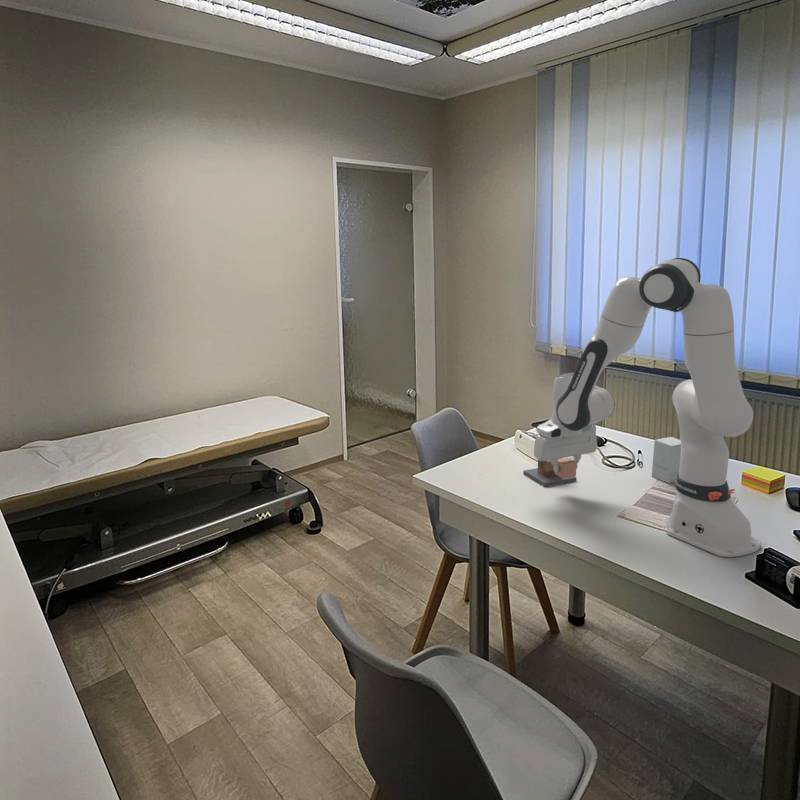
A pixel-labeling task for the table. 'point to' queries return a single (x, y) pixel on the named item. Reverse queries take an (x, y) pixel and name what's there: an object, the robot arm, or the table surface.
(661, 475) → the supplement box
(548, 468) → the walnut block
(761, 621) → the table surface
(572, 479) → the board
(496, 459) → the table surface
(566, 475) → the terracotta block
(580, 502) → the table surface
